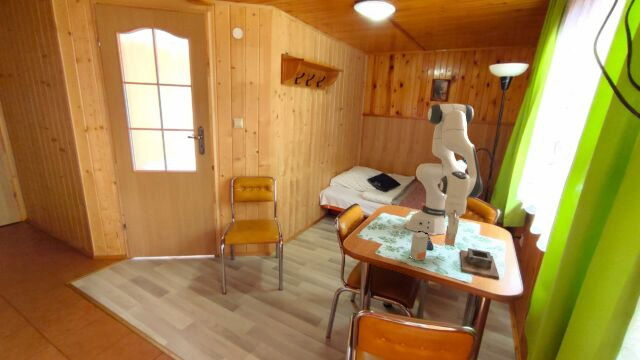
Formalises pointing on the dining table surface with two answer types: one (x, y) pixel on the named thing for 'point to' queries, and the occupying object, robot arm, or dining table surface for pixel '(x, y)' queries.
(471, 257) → the socket holder
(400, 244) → the dining table surface
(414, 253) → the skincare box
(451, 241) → the square peg
